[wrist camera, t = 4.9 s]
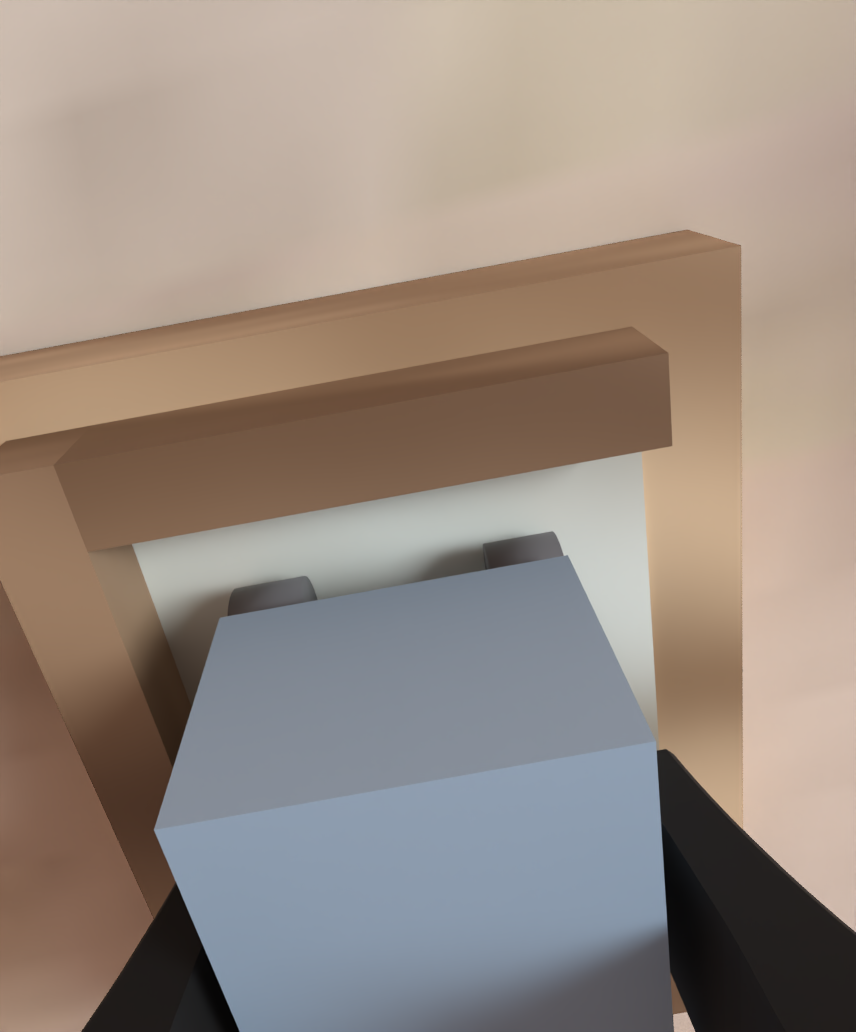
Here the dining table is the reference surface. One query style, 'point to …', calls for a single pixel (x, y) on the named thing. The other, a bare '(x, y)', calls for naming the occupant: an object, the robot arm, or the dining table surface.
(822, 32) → the dining table surface
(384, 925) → the blue block with feet
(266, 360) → the dock
